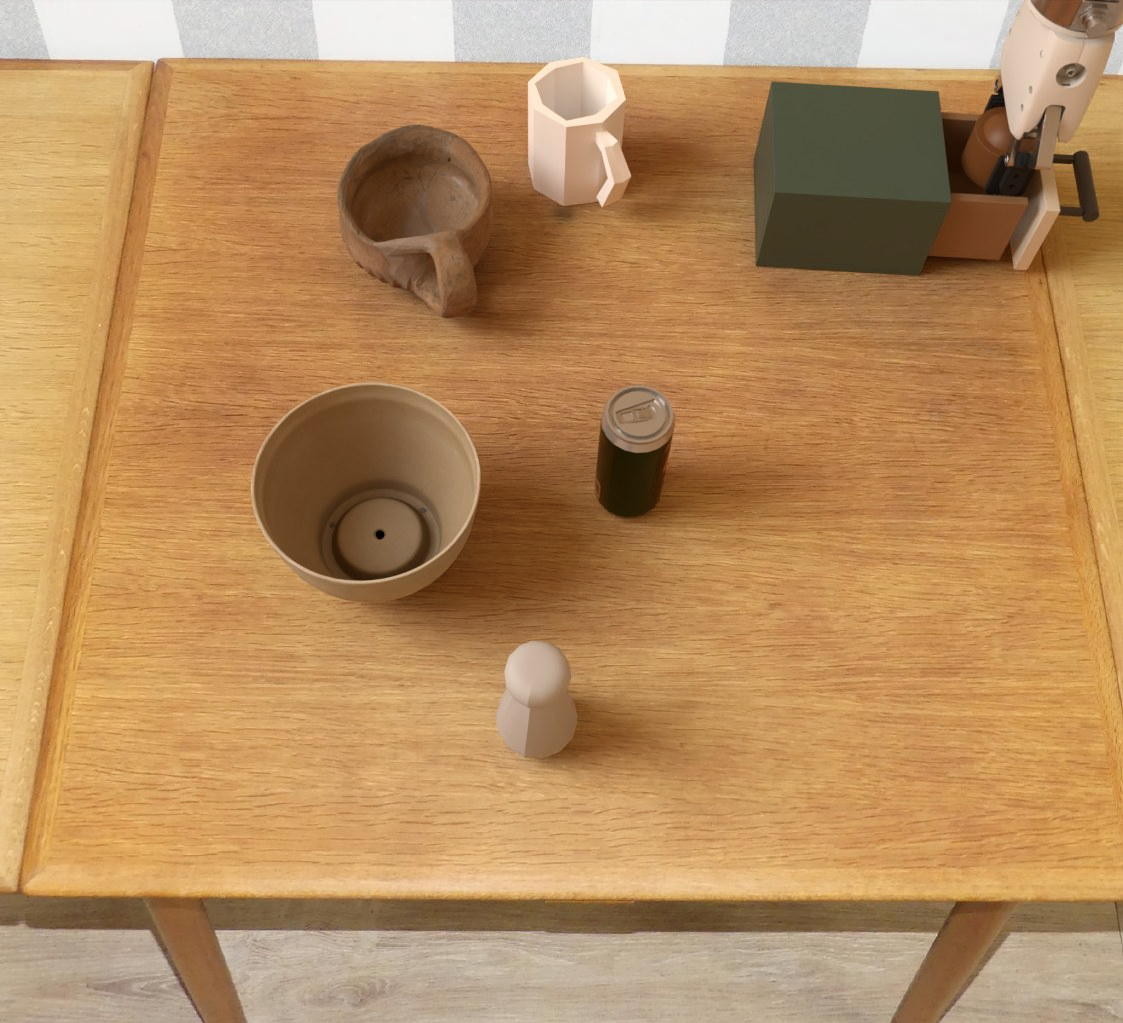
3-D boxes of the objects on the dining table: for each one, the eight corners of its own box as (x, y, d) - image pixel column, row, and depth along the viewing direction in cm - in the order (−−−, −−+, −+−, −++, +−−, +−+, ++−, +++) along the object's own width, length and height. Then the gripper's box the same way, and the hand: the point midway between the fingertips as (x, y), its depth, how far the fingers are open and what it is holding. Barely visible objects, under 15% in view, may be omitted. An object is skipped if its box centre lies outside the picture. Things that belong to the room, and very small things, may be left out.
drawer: (1063, 175, 114) (1097, 113, 107) (1080, 273, 108) (1117, 214, 102) (867, 164, 114) (889, 101, 107) (875, 261, 109) (898, 201, 102)
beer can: (603, 528, 97) (612, 452, 86) (587, 470, 99) (593, 389, 89) (668, 514, 98) (685, 438, 87) (650, 457, 100) (665, 376, 89)
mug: (511, 161, 114) (509, 80, 105) (588, 125, 116) (592, 43, 108) (581, 247, 110) (585, 170, 101) (659, 208, 112) (670, 129, 103)
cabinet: (908, 169, 115) (939, 91, 106) (919, 276, 109) (952, 202, 101) (753, 159, 115) (771, 81, 106) (755, 266, 109) (774, 192, 101)
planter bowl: (298, 664, 91) (271, 607, 81) (263, 480, 98) (234, 408, 88) (507, 612, 93) (505, 551, 84) (459, 436, 100) (451, 361, 91)
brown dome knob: (1026, 141, 107) (1049, 96, 102) (1034, 194, 104) (1058, 150, 99) (957, 137, 107) (977, 91, 102) (964, 189, 104) (984, 145, 99)
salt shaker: (481, 717, 90) (474, 655, 78) (545, 675, 91) (548, 608, 80) (526, 782, 87) (526, 728, 76) (591, 738, 89) (600, 678, 77)
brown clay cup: (569, 274, 107) (544, 214, 97) (442, 373, 106) (405, 323, 97) (455, 146, 113) (422, 78, 103) (335, 239, 112) (290, 180, 103)
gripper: (1155, 75, 85) (1055, 244, 101) (1117, -90, 93) (1030, 91, 109) (1047, 69, 85) (964, 238, 101) (1018, -96, 93) (946, 86, 109)
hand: (999, 160), depth 105 cm, fingers closed on brown dome knob, 6 cm apart
